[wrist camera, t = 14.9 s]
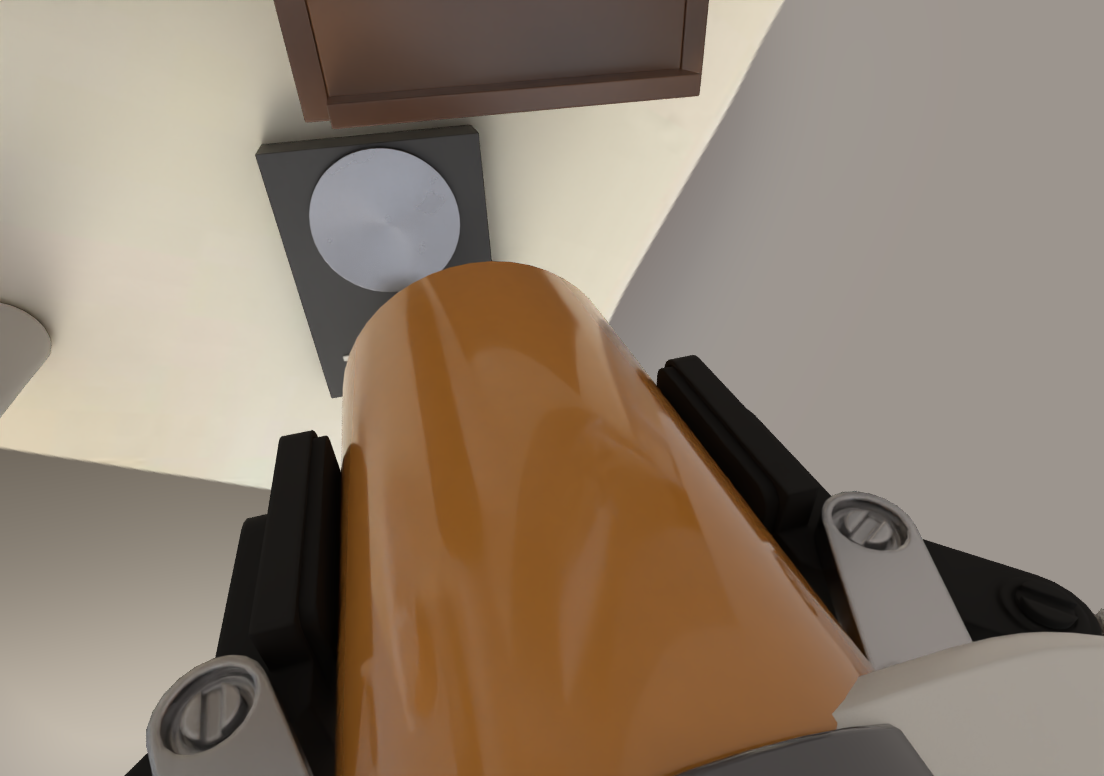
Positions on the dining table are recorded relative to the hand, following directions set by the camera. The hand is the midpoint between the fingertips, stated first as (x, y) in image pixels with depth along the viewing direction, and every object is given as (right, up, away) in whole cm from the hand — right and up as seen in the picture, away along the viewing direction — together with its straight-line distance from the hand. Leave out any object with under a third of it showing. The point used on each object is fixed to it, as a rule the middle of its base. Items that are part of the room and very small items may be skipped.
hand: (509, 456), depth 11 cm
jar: (-1, +1, +2) cm, 2 cm away
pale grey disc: (-9, +11, +23) cm, 27 cm away
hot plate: (-10, +10, +27) cm, 30 cm away
